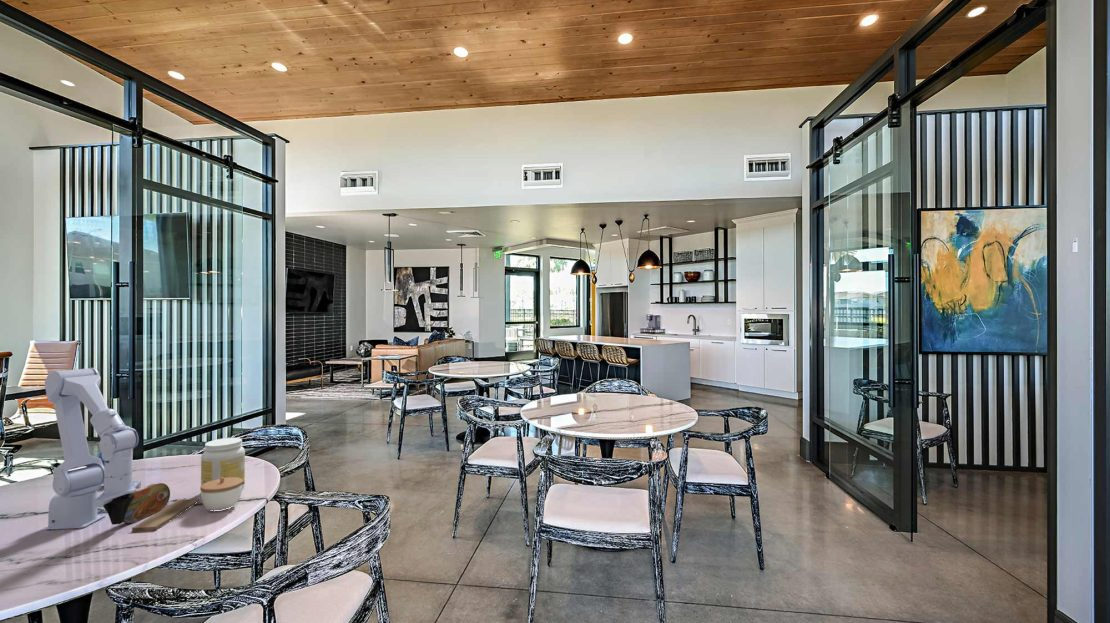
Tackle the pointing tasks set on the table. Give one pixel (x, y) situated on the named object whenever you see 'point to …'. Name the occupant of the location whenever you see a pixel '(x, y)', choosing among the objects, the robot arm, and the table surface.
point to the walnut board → (164, 515)
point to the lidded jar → (221, 493)
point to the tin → (147, 502)
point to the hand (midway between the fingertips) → (117, 523)
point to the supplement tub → (223, 460)
